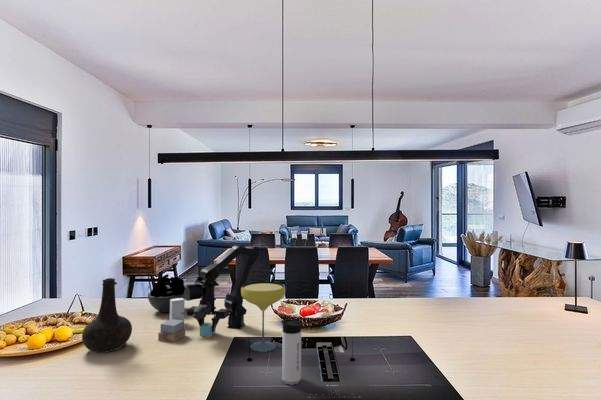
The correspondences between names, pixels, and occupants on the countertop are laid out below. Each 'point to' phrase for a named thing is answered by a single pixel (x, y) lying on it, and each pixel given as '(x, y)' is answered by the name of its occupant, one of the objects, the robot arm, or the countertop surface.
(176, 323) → the slate slab
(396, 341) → the countertop surface
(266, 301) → the cocktail glass
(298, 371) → the travel mug
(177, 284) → the coal bowl
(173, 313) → the skincare box
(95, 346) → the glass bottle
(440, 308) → the countertop surface
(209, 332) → the teal cube
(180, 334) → the walnut slab
